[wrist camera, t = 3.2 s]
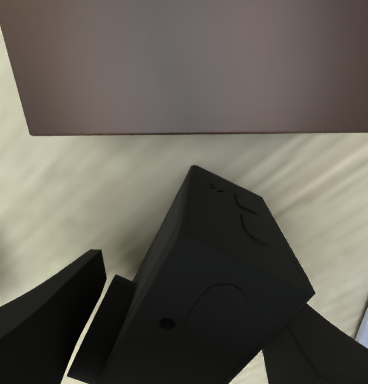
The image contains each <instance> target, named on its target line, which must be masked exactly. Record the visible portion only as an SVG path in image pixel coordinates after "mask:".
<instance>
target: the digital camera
mask: <svg viewBox="0 0 368 384" xmlns="http://www.w3.org/2000/svg"><path fill="white" fill-rule="evenodd" d="M314 294H315V291H314V289H313V287H312V285H311V283H310V281H309V279H308V277H307V275H306V274H305V272H304V270H303V268H302V267H301V265H300V263H299V261H298V260H297V258H296V256H295V254H294V253H293V251H292V249H291V248H290V246H289V244H288V242H287V241H286V239H285V237H284V235H283V234H282V232H281V230H280V228H279V227H278V225H277V223H276V221H275V220H274V218H273V216H272V214H271V213H270V211H269V209H268V207H267V206H266V204H265V202H264V200H263V199H262V197H260V196H258V195H256V194H254V193H252V192H250V191H248V190H246V189H244V188H242V187H239V186H237V185H235V184H233V183H231V182H229V181H227V180H225V179H223V178H221V177H219V176H217V175H215V174H213V173H211V172H208V171H206V170H204V169H202V168H200V167H198V166H195V165H193V166H191V168H190V170H189V172H188V174H187V176H186V178H185V180H184V182H183V184H182V186H181V187H180V189H179V191H178V193H177V195H176V197H175V199H174V201H173V203H172V205H171V207H170V209H169V211H168V213H167V215H166V217H165V219H164V221H163V223H162V225H161V227H160V229H159V231H158V233H157V235H156V237H155V239H154V241H153V243H152V245H151V247H150V248H149V250H148V252H147V254H146V256H145V258H144V260H143V262H142V264H141V266H140V268H139V270H138V272H137V274H136V276H135V278H134V280H133V282H132V281H130V280H128V279H126V278H123V277H121V276H119V275H115V276H114V278H113V280H112V282H111V284H110V286H109V288H108V290H107V292H106V294H105V296H104V298H103V300H102V302H101V304H100V306H99V308H98V310H97V313H96V315H95V317H94V319H93V321H92V323H91V325H90V327H89V329H88V331H87V333H86V335H85V337H84V339H83V342H82V344H81V346H80V348H79V350H78V352H77V354H76V356H75V358H74V361H73V363H72V365H71V367H70V369H69V372H68V374H67V377H70V378H73V379H76V380H79V381H82V382H85V383H88V384H229V383H230V382H231V380H232V379H233V378H234V377H235V376H236V375H237V374H238V373H239V372H240V371H241V370H242V369H243V368H244V367H245V366H246V365H247V364H248V363H249V362H250V361H251V360H252V359H253V358H254V357H255V356H256V355H257V354H258V353H259V352H260V351H261V350H262V349H263V348H264V347H265V345H266V344H267V343H268V342H269V341H270V340H271V339H272V338H273V337H274V336H275V335H276V334H277V333H278V332H279V331H280V330H281V329H282V328H283V327H284V326H285V325H286V324H287V323H288V321H289V320H290V319H291V318H292V317H293V316H294V315H295V314H296V313H297V312H298V311H299V310H300V309H301V308H302V307H303V306H304V305H305V304H306V303H307V302H308V301H309V300H310V299H311V298H312V296H313V295H314Z"/></svg>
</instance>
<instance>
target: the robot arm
mask: <svg viewBox="0 0 368 384" xmlns="http://www.w3.org/2000/svg"><path fill="white" fill-rule="evenodd" d="M106 279H107V277H106V272H105V266H104V261H103V256H102V250H93V249H91V250H89V251H88V252H86V253H85V254H83V255H82V256H81V257H79V258H78V259H76V260H75V261H74V262H72V263H71V264H69V265H68V266H67V267H65V268H64V269H63V270H61V271H60V272H58V273H57V274H55V275H54V276H52V277H51V278H49V279H48V280H46V281H45V282H43V283H42V284H40V285H39V286H37V287H35V288H34V289H32V290H31V291H29V292H27V293H25V294H24V295H22V296H20V297H18V298H16V299H15V300H13V301H11V302H9V303H7V304H5V305H3V306H1V307H0V384H61V381H62V379H63V376H64V373H65V371H66V368H67V365H68V363H69V360H70V358H71V356H72V353H73V351H74V348H75V346H76V343H77V341H78V339H79V337H80V335H81V333H82V331H83V329H84V327H85V325H86V323H87V322H88V320H89V318H90V316H91V314H92V312H93V310H94V308H95V306H96V304H97V302H98V300H99V298H100V296H101V293H102V291H103V288H104V285H105V282H106ZM262 352H263V356H264V361H265V367H266V372H267V378H268V383H269V384H368V307H367V310H366V313H365V315H364V318H363V320H362V323H361V326H360V328H359V331H358V333H357V336H356V339H355V340H354V339H352V338H351V337H350V336H348V335H347V334H345V333H344V332H342V331H341V330H340V329H338V328H337V327H336V326H334V325H333V324H331V323H330V322H329V321H327V320H326V319H325V318H324V317H322V316H321V315H320V314H319V313H317V312H316V311H315V310H314V309H313V308H312V307H310V306H309V305H308V304H307V303H306V304H305V305H304V306H303V307H302V308H301V309H300V310H299V311H298V312H297V313H296V314H295V315H294V316H293V317H292V318H291V319H290V320H289V321H288V323H287V324H286V325H285V326H284V327H283V328H282V329H281V330H280V331H279V332H278V333H277V334H276V335H275V336H274V337H273V338H272V339H271V340H270V341H269V342H268V343H267V344H266V345H265V347H264V348H263V349H262Z"/></svg>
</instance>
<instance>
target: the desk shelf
mask: <svg viewBox="0 0 368 384" xmlns="http://www.w3.org/2000/svg"><path fill="white" fill-rule="evenodd" d="M0 26H1V30H2V33H3V37H4V41H5V45H6V48H7V52H8V56H9V59H10V63H11V67H12V70H13V74H14V78H15V81H16V85H17V89H18V92H19V96H20V100H21V103H22V107H23V111H24V115H25V118H26V122H27V126H28V129H29V133H30V135H32V136H90V135H191V134H292V133H368V0H0Z"/></svg>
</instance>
